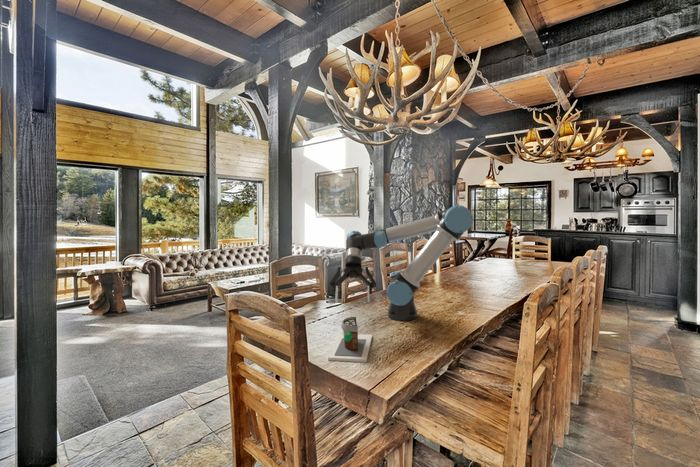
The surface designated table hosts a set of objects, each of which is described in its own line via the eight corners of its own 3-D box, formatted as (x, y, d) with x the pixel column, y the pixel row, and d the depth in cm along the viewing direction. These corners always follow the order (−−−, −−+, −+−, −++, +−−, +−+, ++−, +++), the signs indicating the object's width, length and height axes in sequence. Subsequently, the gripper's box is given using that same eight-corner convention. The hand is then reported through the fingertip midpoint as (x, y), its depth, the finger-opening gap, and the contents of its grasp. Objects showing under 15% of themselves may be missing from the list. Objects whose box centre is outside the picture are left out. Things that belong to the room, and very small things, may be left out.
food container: (341, 340, 135) (341, 316, 135) (356, 340, 136) (356, 316, 135) (341, 353, 123) (341, 327, 122) (358, 352, 123) (357, 326, 123)
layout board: (372, 337, 142) (372, 334, 142) (366, 362, 118) (366, 358, 118) (340, 335, 144) (340, 332, 144) (328, 360, 120) (328, 356, 120)
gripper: (380, 264, 155) (381, 304, 141) (327, 264, 157) (324, 305, 143) (380, 254, 149) (382, 295, 135) (325, 255, 151) (321, 296, 137)
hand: (352, 300), depth 139 cm, fingers open, 13 cm apart
